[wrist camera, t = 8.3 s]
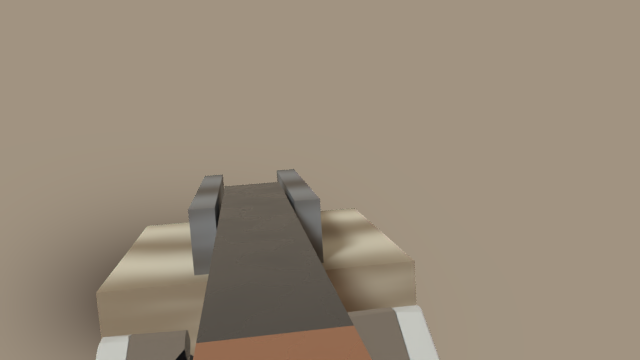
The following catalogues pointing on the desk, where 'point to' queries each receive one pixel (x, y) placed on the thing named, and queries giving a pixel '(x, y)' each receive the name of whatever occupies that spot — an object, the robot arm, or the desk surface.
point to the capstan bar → (270, 287)
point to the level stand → (196, 253)
